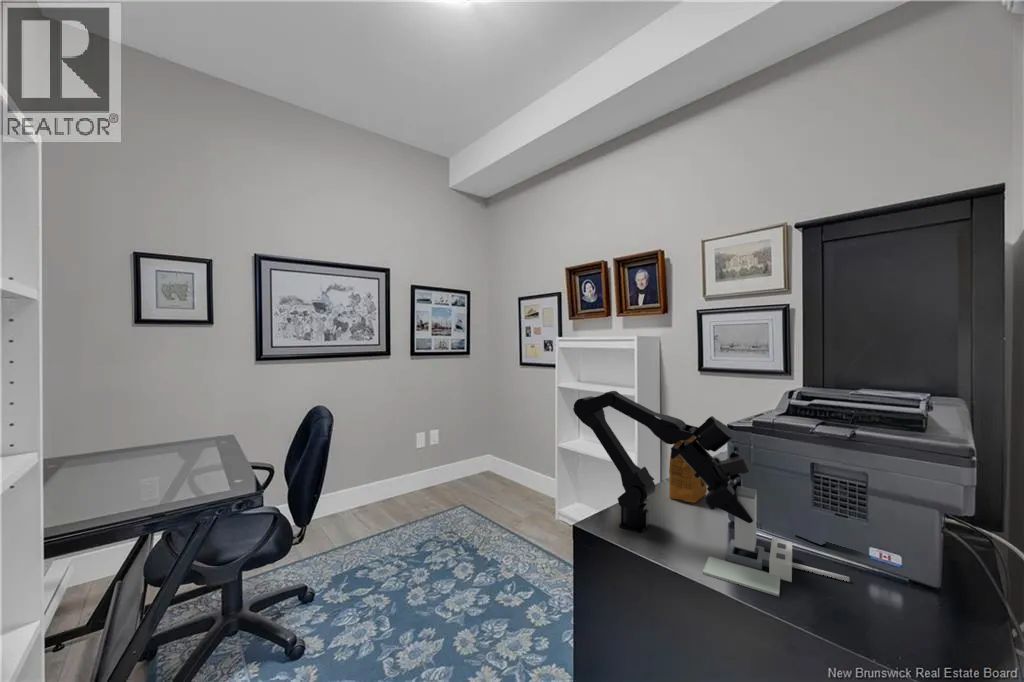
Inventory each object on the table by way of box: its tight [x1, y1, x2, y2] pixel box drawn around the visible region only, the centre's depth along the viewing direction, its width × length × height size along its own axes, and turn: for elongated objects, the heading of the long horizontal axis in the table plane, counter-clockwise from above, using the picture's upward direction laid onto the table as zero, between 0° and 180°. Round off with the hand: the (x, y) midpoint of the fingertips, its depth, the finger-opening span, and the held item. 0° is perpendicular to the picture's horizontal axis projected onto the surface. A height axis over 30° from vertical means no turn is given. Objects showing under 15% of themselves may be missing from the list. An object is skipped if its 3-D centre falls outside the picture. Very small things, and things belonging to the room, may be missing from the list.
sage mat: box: [702, 556, 781, 598], centre depth 89 cm, size 14×8×1 cm, turn 55°
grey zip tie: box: [726, 537, 850, 583], centre depth 92 cm, size 22×12×4 cm, turn 55°
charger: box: [734, 486, 758, 551], centre depth 97 cm, size 4×6×12 cm
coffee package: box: [668, 436, 708, 504], centre depth 133 cm, size 10×12×22 cm
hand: (752, 517), depth 96 cm, fingers closed on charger, 5 cm apart
